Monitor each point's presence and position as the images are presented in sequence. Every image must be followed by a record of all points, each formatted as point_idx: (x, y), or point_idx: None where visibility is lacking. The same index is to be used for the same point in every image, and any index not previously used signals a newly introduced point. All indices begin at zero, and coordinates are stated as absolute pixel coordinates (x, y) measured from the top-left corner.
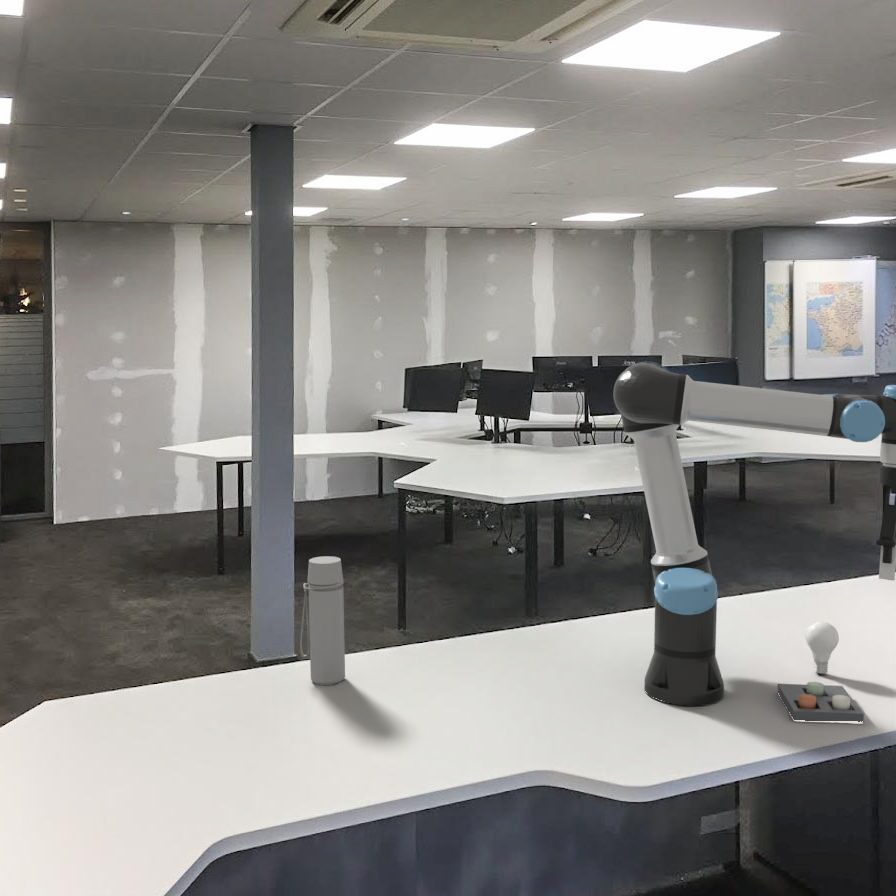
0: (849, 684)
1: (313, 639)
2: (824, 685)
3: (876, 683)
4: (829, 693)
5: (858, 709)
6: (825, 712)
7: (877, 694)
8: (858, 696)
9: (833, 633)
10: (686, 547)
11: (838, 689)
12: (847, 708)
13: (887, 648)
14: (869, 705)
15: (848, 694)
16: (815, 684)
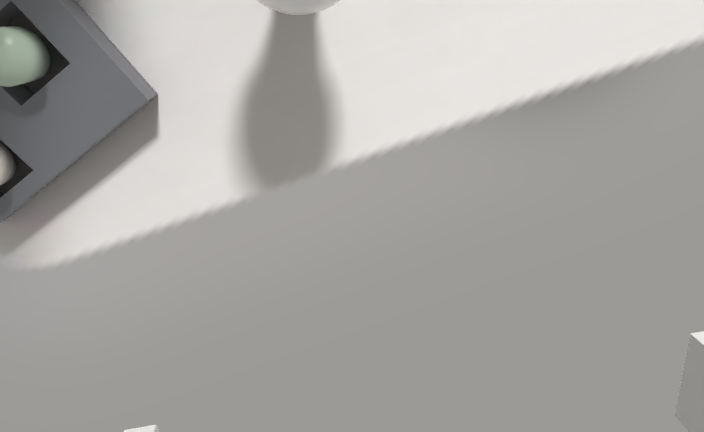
0: (273, 73)
1: None
2: (102, 53)
3: (338, 131)
4: (48, 96)
5: (2, 210)
6: None
7: (250, 166)
8: (193, 133)
9: (275, 1)
10: None
11: (106, 104)
12: None
13: (699, 36)
14: (150, 181)
15: (91, 144)
16: (3, 56)
